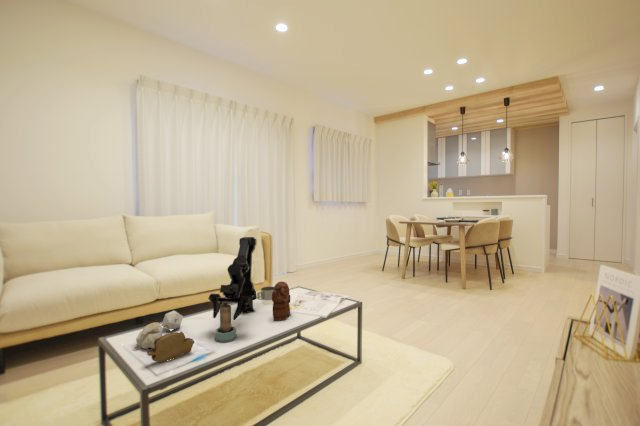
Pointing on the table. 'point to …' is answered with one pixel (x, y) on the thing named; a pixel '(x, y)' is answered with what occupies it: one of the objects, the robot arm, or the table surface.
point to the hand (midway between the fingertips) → (223, 318)
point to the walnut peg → (225, 318)
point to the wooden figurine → (281, 301)
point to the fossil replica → (149, 335)
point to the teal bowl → (225, 335)
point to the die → (172, 320)
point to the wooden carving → (170, 346)
